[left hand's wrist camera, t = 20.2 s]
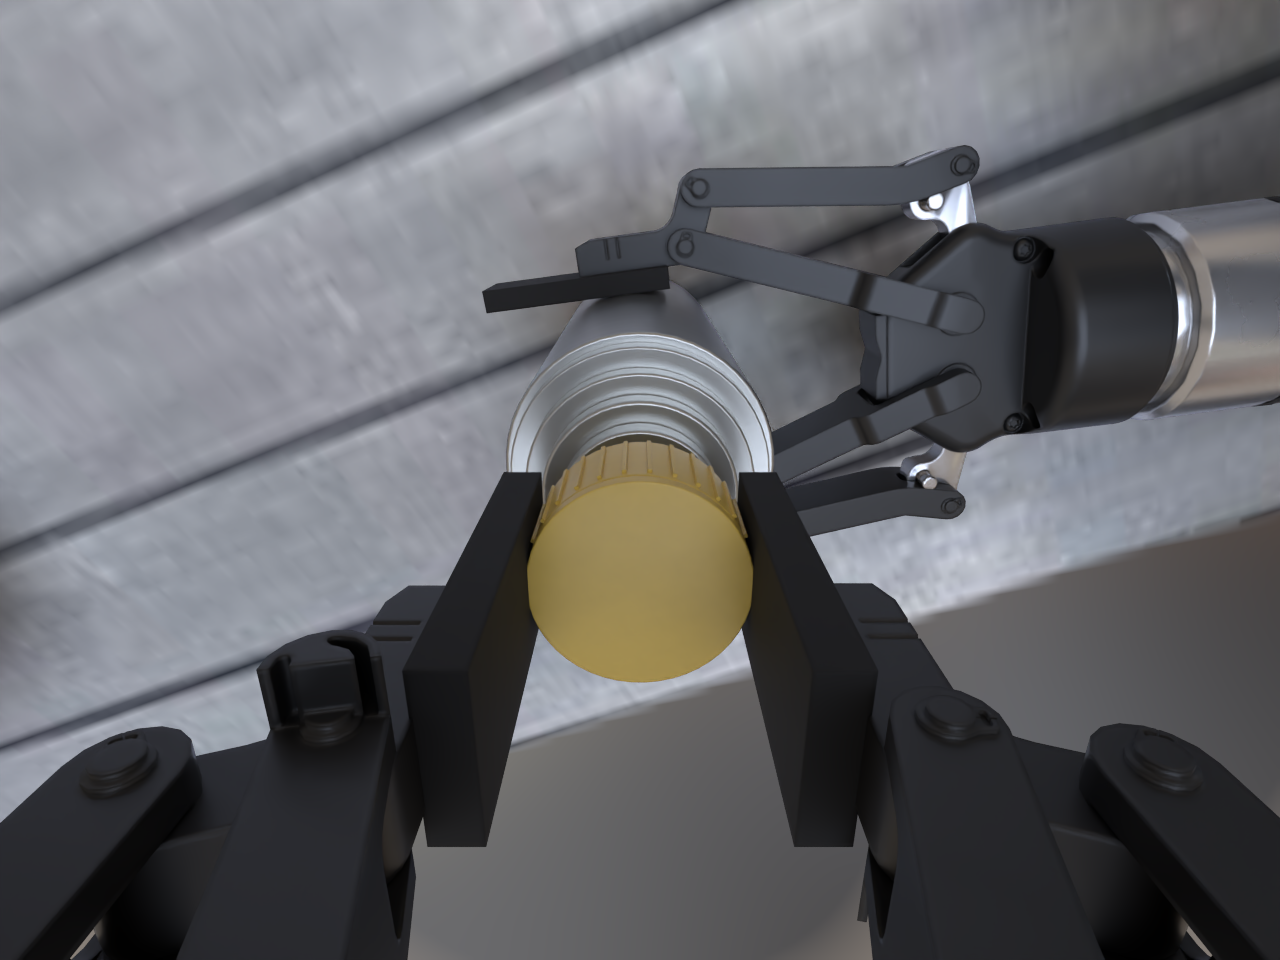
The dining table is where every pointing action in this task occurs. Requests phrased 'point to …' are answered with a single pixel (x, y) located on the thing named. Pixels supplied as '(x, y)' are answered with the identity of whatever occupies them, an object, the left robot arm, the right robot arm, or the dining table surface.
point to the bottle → (640, 391)
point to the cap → (640, 564)
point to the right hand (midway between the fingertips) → (513, 398)
